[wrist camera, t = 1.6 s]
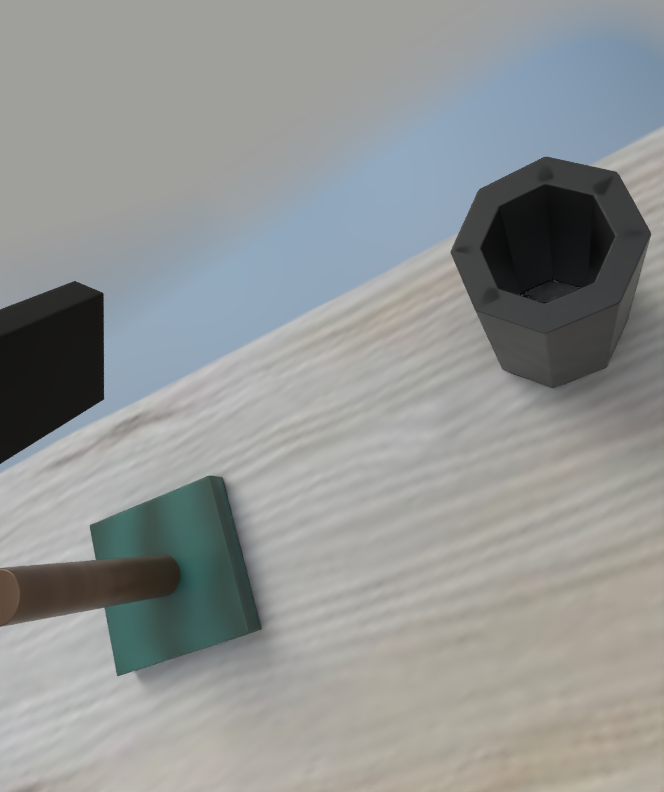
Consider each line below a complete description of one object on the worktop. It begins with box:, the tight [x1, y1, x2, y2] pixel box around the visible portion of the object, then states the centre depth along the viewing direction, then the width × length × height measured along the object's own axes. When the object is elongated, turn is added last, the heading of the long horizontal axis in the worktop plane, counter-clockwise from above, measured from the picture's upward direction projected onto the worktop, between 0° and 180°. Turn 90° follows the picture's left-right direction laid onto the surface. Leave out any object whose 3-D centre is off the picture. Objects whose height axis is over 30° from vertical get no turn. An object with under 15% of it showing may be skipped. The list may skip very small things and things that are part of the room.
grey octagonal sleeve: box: [451, 157, 651, 388], centre depth 30 cm, size 7×7×11 cm
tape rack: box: [0, 476, 261, 676], centre depth 34 cm, size 10×10×14 cm
